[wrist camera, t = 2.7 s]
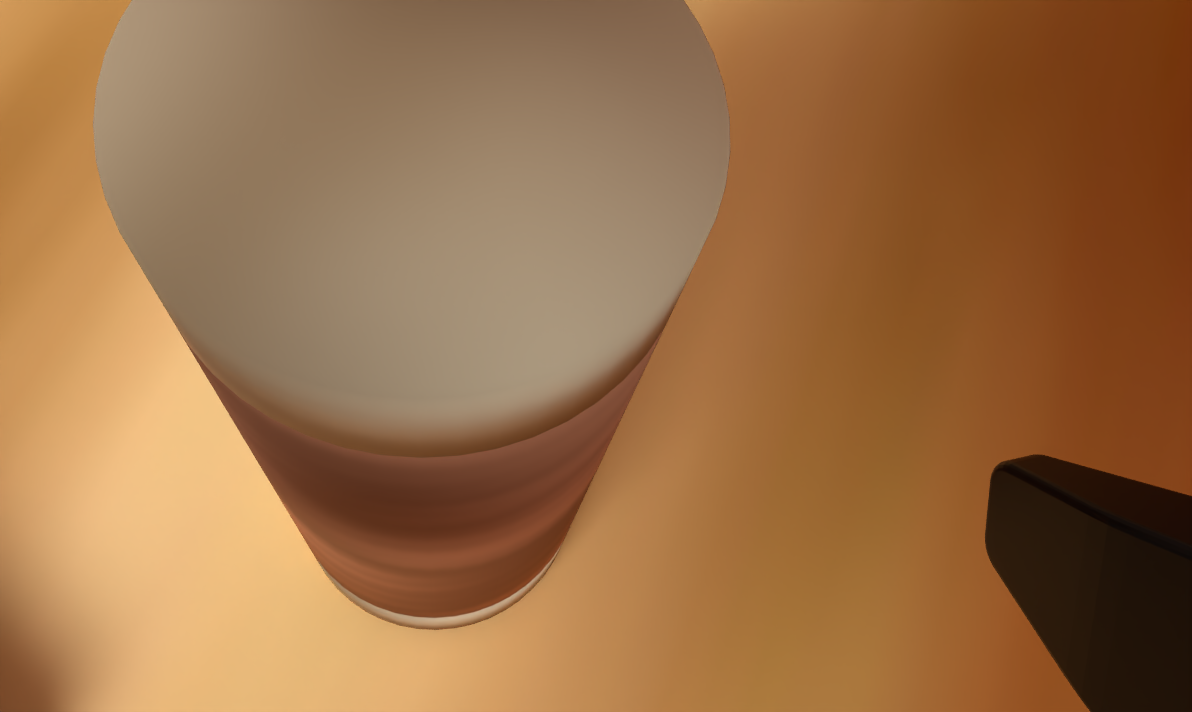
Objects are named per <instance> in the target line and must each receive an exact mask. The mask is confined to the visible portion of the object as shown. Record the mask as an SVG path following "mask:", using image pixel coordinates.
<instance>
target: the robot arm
mask: <svg viewBox="0 0 1192 712" xmlns="http://www.w3.org/2000/svg"><path fill="white" fill-rule="evenodd" d="M985 544H986V550H987V553H988V556H989V559H990V561H991V563H992V565H993V567H994V568H995V570H996V571H997V573H998V575H999V576H1000V578H1001V579H1002V581H1003V582H1004V584H1005V585H1006V587H1007V588H1008V590H1009V591H1010V593H1011V594H1012V596H1013V597H1014V599H1015V601H1016V602H1017V604H1018V605H1019V607H1020V608H1021V610H1022V611H1023V613H1024V614H1025V616H1026V617H1027V619H1028V620H1029V622H1030V624H1031V625H1032V627H1033V628H1034V630H1035V631H1036V633H1037V634H1038V636H1039V637H1040V639H1041V640H1042V642H1043V643H1044V645H1045V647H1046V648H1047V650H1048V651H1049V653H1050V654H1051V656H1052V657H1053V659H1054V660H1055V662H1056V663H1057V665H1058V666H1059V668H1060V669H1061V671H1062V673H1063V674H1064V676H1065V677H1066V679H1067V680H1068V681H1069V683H1070V684H1071V686H1072V687H1073V689H1074V690H1075V691H1076V693H1077V694H1078V696H1079V697H1080V699H1081V700H1082V701H1083V703H1084V704H1085V705H1086V706H1087V708H1088V709H1089V710H1090V712H1192V496H1189V495H1185V494H1182V493H1178V492H1175V491H1171V490H1168V489H1164V488H1160V487H1157V486H1153V485H1150V484H1146V483H1142V482H1139V481H1135V480H1132V479H1128V478H1124V477H1121V476H1117V475H1114V474H1110V473H1106V472H1103V471H1099V470H1096V469H1092V468H1088V467H1085V466H1081V465H1078V464H1074V463H1070V462H1067V461H1063V460H1060V459H1056V458H1052V457H1049V456H1045V455H1030V456H1025V457H1021V458H1016V459H1012V460H1007V461H1003V462H1001V463H999V464H998V465H997V466H996V467H995V468H994V470H993V472H992V474H991V480H990V489H989V500H988V510H987V520H986V530H985Z"/></svg>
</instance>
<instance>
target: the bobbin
mask: <svg viewBox="0 0 1192 712" xmlns="http://www.w3.org/2000/svg"><path fill="white" fill-rule="evenodd" d="M93 128H94V142H95V155H96V163H97V167H98V171H99V175H100V179H101V183H102V188H103V192H104V196H105V199H106V201H107V203H108V206H109V208H110V210H111V213H112V215H113V218H114V220H115V222H116V225H117V227H118V229H119V232H120V234H121V235H122V237H123V239H124V240H125V242H126V244H127V245H128V247H129V249H130V250H131V252H132V254H133V255H134V257H135V259H136V260H137V262H138V264H139V265H140V267H141V269H142V270H143V272H144V274H145V275H146V277H147V279H148V280H149V282H150V284H151V285H152V287H153V289H154V290H155V292H156V294H157V295H158V297H159V298H160V300H161V302H162V303H163V305H164V307H165V308H166V310H167V312H168V313H169V315H170V317H171V318H172V320H173V322H174V323H175V325H176V327H177V328H178V330H179V332H180V333H181V335H182V337H183V338H184V340H185V342H186V343H187V345H188V347H189V348H190V350H191V352H192V353H193V355H194V357H195V358H196V360H197V362H198V363H199V365H200V367H201V368H202V370H203V372H204V373H205V375H206V377H207V378H208V380H209V382H210V383H211V385H212V387H213V388H214V390H215V391H216V393H217V395H218V396H219V398H220V400H221V401H222V403H223V405H224V406H225V408H226V410H227V411H228V413H229V415H230V416H231V418H232V420H233V421H234V423H235V425H236V426H237V428H238V430H239V431H240V433H241V435H242V436H243V438H244V440H245V441H246V443H247V445H248V446H249V448H250V450H251V451H252V453H253V455H254V456H255V458H256V460H257V461H258V463H259V465H260V466H261V468H262V470H263V471H264V473H265V475H266V476H267V478H268V480H269V481H270V483H271V485H272V486H273V488H274V489H275V491H276V493H277V494H278V496H279V498H280V499H281V501H282V503H283V504H284V506H285V508H286V509H287V511H288V513H289V514H290V516H291V518H292V519H293V521H294V523H295V524H296V526H297V528H298V529H299V531H300V533H301V534H302V536H303V538H304V539H305V541H306V543H307V544H308V546H309V548H310V549H311V551H312V553H313V554H314V556H315V558H316V559H317V561H318V563H319V564H320V566H321V567H322V569H323V571H324V572H325V574H326V575H327V577H328V578H329V579H330V580H331V582H332V583H333V584H334V585H335V586H336V588H337V589H338V590H339V591H340V592H341V593H342V594H344V595H345V596H346V597H347V598H348V599H349V600H350V601H351V602H353V603H354V604H356V605H357V606H359V607H360V608H362V609H363V610H365V611H366V612H368V613H370V614H372V615H374V616H376V617H378V618H380V619H382V620H385V621H388V622H391V623H394V624H397V625H400V626H406V627H411V628H416V629H432V630H439V629H451V628H458V627H462V626H467V625H472V624H475V623H477V622H480V621H483V620H486V619H489V618H491V617H493V616H495V615H497V614H498V613H500V612H502V611H504V610H506V609H507V608H509V607H510V606H512V605H513V604H515V603H516V602H518V601H519V600H520V599H522V598H523V597H524V596H525V595H526V594H527V593H528V592H529V591H530V590H531V589H533V588H534V586H535V585H536V584H537V583H538V582H539V581H540V579H541V578H542V577H543V576H544V575H545V573H546V572H547V570H548V569H549V567H550V566H551V564H552V562H553V561H554V559H555V557H556V555H557V553H558V551H559V549H560V547H561V544H562V542H563V540H564V538H565V536H566V534H567V532H568V530H569V528H570V525H571V523H572V521H573V519H574V517H575V515H576V513H577V511H578V509H579V507H580V504H581V502H582V500H583V498H584V496H585V494H586V492H587V490H588V488H589V485H590V483H591V481H592V479H593V477H594V475H595V473H596V471H597V469H598V467H599V464H600V462H601V460H602V458H603V456H604V454H605V452H606V450H607V448H608V445H609V443H610V441H611V439H612V437H613V435H614V433H615V431H616V429H617V426H618V424H619V422H620V420H621V418H622V416H623V414H624V412H625V410H626V408H627V405H628V403H629V401H630V399H631V397H632V395H633V393H634V391H635V389H636V386H637V384H638V382H639V380H640V378H641V376H642V374H643V372H644V370H645V368H646V365H647V363H648V361H649V359H650V357H651V355H652V353H653V351H654V349H655V346H656V344H657V342H658V340H659V338H660V336H661V334H662V332H663V330H664V327H665V325H666V323H667V321H668V319H669V317H670V315H671V313H672V311H673V309H674V306H675V304H676V302H677V300H678V298H679V296H680V294H681V292H682V290H683V287H684V285H685V283H686V281H687V279H688V277H689V275H690V273H691V271H692V269H693V266H694V264H695V262H696V260H697V258H698V256H699V254H700V252H701V250H702V247H703V245H704V243H705V241H706V239H707V237H708V235H709V233H710V231H711V228H712V226H713V224H714V222H715V220H716V217H717V214H718V210H719V207H720V204H721V200H722V197H723V193H724V190H725V187H726V180H727V173H728V165H729V158H730V118H729V112H728V106H727V100H726V94H725V88H724V84H723V81H722V78H721V75H720V72H719V69H718V65H717V62H716V59H715V56H714V53H713V51H712V49H711V47H710V45H709V43H708V41H707V39H706V37H705V35H704V33H703V31H702V29H701V26H700V24H699V23H698V21H697V20H696V18H695V17H694V15H693V14H692V12H691V11H690V9H689V8H688V6H687V4H686V3H685V1H684V0H132V1H131V3H130V4H129V6H128V8H127V9H126V11H125V12H124V14H123V16H122V17H121V19H120V20H119V23H118V25H117V27H116V30H115V32H114V34H113V37H112V39H111V41H110V43H109V46H108V48H107V50H106V53H105V56H104V60H103V64H102V68H101V72H100V76H99V80H98V83H97V87H96V98H95V109H94V120H93Z"/></svg>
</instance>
